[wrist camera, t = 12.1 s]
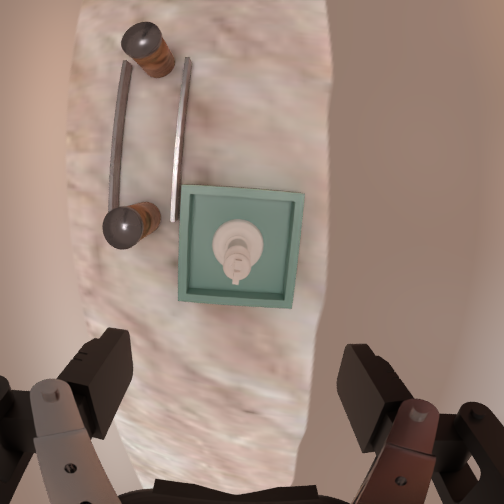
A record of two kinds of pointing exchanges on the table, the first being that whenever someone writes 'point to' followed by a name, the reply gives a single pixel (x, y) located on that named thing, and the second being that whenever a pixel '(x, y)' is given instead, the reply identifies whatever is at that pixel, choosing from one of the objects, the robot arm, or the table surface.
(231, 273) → the chess piece
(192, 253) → the tray
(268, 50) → the table surface
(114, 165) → the rail
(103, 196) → the table surface
